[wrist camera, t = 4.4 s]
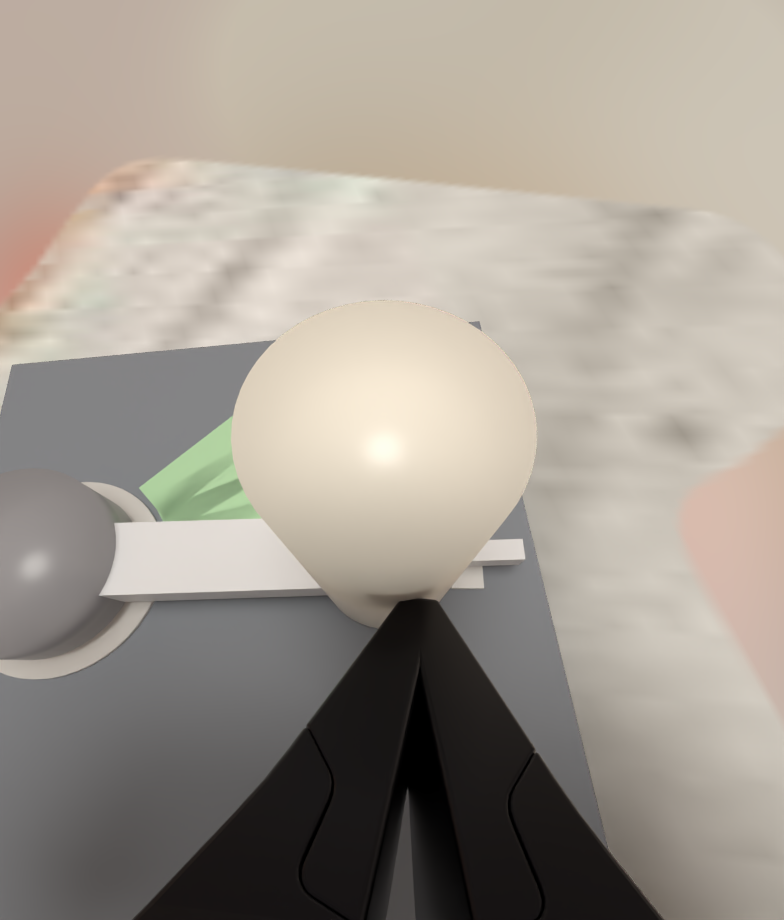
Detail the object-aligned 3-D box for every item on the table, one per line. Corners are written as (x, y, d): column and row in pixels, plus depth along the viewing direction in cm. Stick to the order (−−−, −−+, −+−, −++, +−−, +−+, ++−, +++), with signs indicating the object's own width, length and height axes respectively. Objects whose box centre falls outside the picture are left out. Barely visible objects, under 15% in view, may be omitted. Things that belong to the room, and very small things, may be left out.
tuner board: (668, 1156, 11) (700, 1212, 10) (-173, 1323, 10) (-245, 1407, 9) (474, 335, 20) (479, 315, 19) (30, 377, 19) (8, 359, 18)
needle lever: (-59, 663, 13) (-799, 658, 5) (-5, 494, 15) (-468, 290, 7) (528, 642, 14) (746, 607, 5) (505, 479, 16) (639, 269, 7)
